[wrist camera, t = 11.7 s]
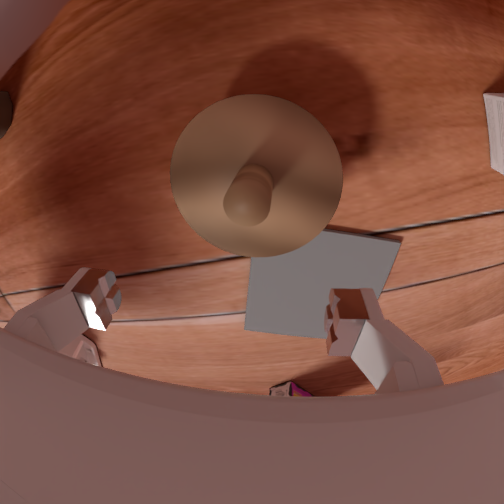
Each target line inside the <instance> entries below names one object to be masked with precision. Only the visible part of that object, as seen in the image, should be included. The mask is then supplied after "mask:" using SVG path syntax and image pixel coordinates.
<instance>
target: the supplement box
mask: <svg viewBox="0 0 504 504" xmlns="http://www.w3.org/2000/svg"><path fill="white" fill-rule="evenodd" d="M483 96H484V102H485V108H486V115H487V122H488V131H489V143H490V157H491V168H493V169H494V170H496V171H498V172H500V173H501V174H503V175H504V93H484V94H483Z"/></svg>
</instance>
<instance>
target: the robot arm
mask: <svg viewBox="0 0 504 504" xmlns="http://www.w3.org/2000/svg"><path fill="white" fill-rule="evenodd" d="M115 282H116V277H115V274H114V272H112V271H109V270H102V269H95V268H87V267H82V268H80V269H79V270H78V271H77V272H76V273H75V274H74V276H73V277H72V278H71V279H70V280H69V281H68V282H67V283H66V285H65V286H64V287H63V288H62V289H61V290H59V289H58V290H56V291H54V292H52V293H51V294H49V295H47V296H45V297H43V298H41V299H39V300H37V301H35V302H33V303H31V304H30V305H28V306H26V307H24V308H22V309H20V310H18V311H17V312H16V313H15V315H14V316H13V317H12V318H11V320H10V321H9V322H8V324H7V325H6V326H5V327H4V329H3V328H1V327H0V504H504V370H501V371H498V372H494V373H491V374H488V375H484V376H480V377H476V378H472V379H468V380H464V381H460V382H455V383H450V384H445V385H444V384H443V381H442V378H441V375H440V372H439V370H438V367H437V364H436V362H435V359H434V357H433V356H432V355H430V354H429V353H428V352H427V351H426V350H424V349H423V348H422V347H421V346H420V345H418V344H417V343H416V342H415V341H414V340H412V339H411V338H410V337H409V336H408V335H406V334H405V333H404V332H403V331H402V330H400V329H399V328H398V327H397V326H395V325H394V324H393V323H392V322H390V321H389V320H385V319H384V317H383V314H382V311H381V308H380V306H379V303H378V301H377V298H376V295H375V293H374V290H373V289H372V288H358V289H351V288H331V290H330V293H329V302H330V304H328V305H327V306H326V310H325V316H324V329H325V332H326V333H327V334H328V336H327V339H326V345H327V353H328V356H351V358H352V360H353V361H354V362H355V363H356V364H357V366H358V367H359V368H360V369H361V371H362V372H363V373H364V374H365V376H366V377H367V378H368V379H369V381H370V382H371V383H372V384H373V386H374V387H375V388H376V389H377V391H376V392H375V394H371V395H357V396H333V397H296V396H271V395H255V394H243V393H233V392H224V391H216V390H208V389H201V388H195V387H189V386H183V385H177V384H172V383H167V382H162V381H157V380H152V379H148V378H143V377H139V376H135V375H131V374H127V373H123V372H119V371H115V370H112V369H108V368H105V367H102V366H101V363H100V359H99V356H98V352H97V348H96V345H95V344H94V343H93V342H92V341H90V340H89V339H88V338H86V337H85V336H83V335H82V333H83V332H85V331H86V330H87V329H89V327H90V328H95V329H100V330H106V329H107V327H108V325H109V324H110V322H111V320H112V314H113V313H115V312H117V310H118V309H119V307H120V304H121V292H120V289H119V288H118V287H117V286H116V284H115Z"/></svg>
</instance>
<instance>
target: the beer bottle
mask: <svg viewBox="0 0 504 504" xmlns="http://www.w3.org/2000/svg"><path fill="white" fill-rule="evenodd" d="M12 109H13V105H12V102H11V100H10V97H9V94H8V92H3V91H0V138H2V137H3V136H4V135H5V133H6V131H7V130H8V128H9V127H10V125H11V119H12Z"/></svg>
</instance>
